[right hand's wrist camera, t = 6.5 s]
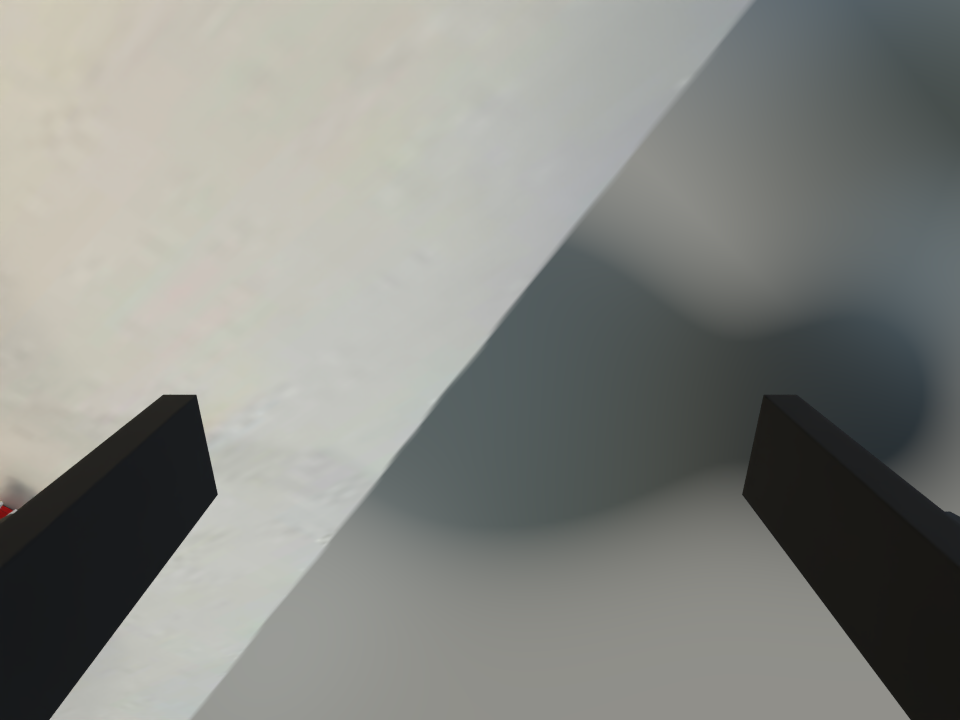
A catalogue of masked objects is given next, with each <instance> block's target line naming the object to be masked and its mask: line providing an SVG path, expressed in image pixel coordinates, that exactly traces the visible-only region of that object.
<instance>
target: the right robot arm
mask: <svg viewBox="0 0 960 720" xmlns="http://www.w3.org/2000/svg"><path fill="white" fill-rule="evenodd" d="M217 495H218V494H217V489H216V484H215V480H214V475H213V470H212V466H211V461H210V456H209V452H208V447H207V442H206V438H205V433H204V428H203V424H202V419H201V414H200V410H199V405H198V400H197V396H196V395H162V396H161V397H160V398H159V399H157V400H156V401H155V402H154V403H152V404H151V405H150V406H148V407H147V408H146V409H145V410H143V411H142V412H141V413H140V414H138V415H137V416H136V417H135V418H133V419H132V420H131V421H130V422H128V423H127V424H126V425H125V426H123V427H122V428H121V429H119V430H118V431H117V432H116V433H114V434H113V435H112V436H111V437H109V438H108V439H107V440H106V441H104V442H103V443H102V444H101V445H99V446H98V447H97V448H95V449H94V450H93V451H92V452H90V453H89V454H88V455H87V456H85V457H84V458H83V459H82V460H80V461H79V462H78V463H77V464H75V465H74V466H73V467H71V468H70V469H69V470H68V471H66V472H65V473H64V474H63V475H61V476H60V477H59V478H58V479H56V480H55V481H54V482H53V483H51V484H50V485H49V486H47V487H46V488H45V489H44V490H42V491H41V492H40V493H39V494H37V495H36V496H35V497H34V498H32V499H31V500H30V501H29V502H27V503H26V504H25V505H24V506H22V507H21V508H20V509H18V510H17V511H16V512H15V513H13V514H9V515H7V516H5V517H3V518H1V519H0V720H49V719H50V718H51V717H52V715H53V714H54V713H55V711H56V710H57V709H58V707H59V706H60V705H61V703H62V702H63V701H64V699H65V698H66V697H67V695H68V694H69V693H70V691H71V690H72V689H73V687H74V686H75V685H76V683H77V682H78V681H79V679H80V678H81V677H82V675H83V674H84V673H85V671H86V670H87V669H88V667H89V666H90V665H91V663H92V662H93V661H94V659H95V658H96V657H97V655H98V654H99V653H100V651H101V650H102V649H103V647H104V646H105V645H106V643H107V642H108V641H109V639H110V638H111V637H112V635H113V634H114V633H115V631H116V630H117V629H118V627H119V626H120V625H121V623H122V622H123V620H124V619H125V618H126V616H127V615H128V614H129V612H130V611H131V610H132V608H133V607H134V606H135V604H136V603H137V602H138V600H139V599H140V598H141V596H142V595H143V594H144V592H145V591H146V590H147V588H148V587H149V586H150V584H151V583H152V582H153V580H154V579H155V578H156V576H157V575H158V574H159V572H160V571H161V570H162V568H163V567H164V566H165V564H166V563H167V562H168V560H169V559H170V558H171V556H172V555H173V554H174V552H175V551H176V550H177V548H178V547H179V546H180V544H181V543H182V542H183V540H184V539H185V538H186V536H187V535H188V534H189V532H190V531H191V530H192V528H193V527H194V526H195V524H196V523H197V522H198V520H199V519H200V518H201V516H202V515H203V514H204V512H205V511H206V510H207V508H208V507H209V506H210V504H211V503H212V502H213V500H214V499H215V498H216V496H217ZM742 495H743V496H744V497H745V499H746V500H747V502H748V503H749V504H750V505H751V507H752V508H753V510H754V511H755V512H756V514H757V515H758V516H759V518H760V519H761V520H762V522H763V523H764V524H765V526H766V527H767V528H768V530H769V531H770V532H771V534H772V535H773V536H774V538H775V539H776V540H777V542H778V543H779V544H780V546H781V547H782V548H783V550H784V551H785V552H786V554H787V555H788V556H789V558H790V559H791V560H792V562H793V563H794V564H795V566H796V567H797V568H798V570H799V571H800V572H801V574H802V575H803V576H804V578H805V579H806V580H807V582H808V583H809V584H810V586H811V587H812V588H813V590H814V591H815V592H816V594H817V595H818V596H819V598H820V599H821V600H822V602H823V603H824V604H825V606H826V607H827V608H828V610H829V611H830V612H831V614H832V615H833V616H834V618H835V619H836V620H837V622H838V623H839V625H840V626H841V627H842V629H843V630H844V631H845V633H846V634H847V635H848V637H849V638H850V639H851V640H852V642H853V643H854V645H855V646H856V647H857V649H858V650H859V651H860V653H861V654H862V655H863V657H864V658H865V659H866V661H867V662H868V663H869V665H870V666H871V667H872V669H873V670H874V671H875V673H876V674H877V675H878V677H879V678H880V679H881V681H882V682H883V683H884V685H885V686H886V687H887V689H888V690H889V691H890V693H891V694H892V695H893V697H894V698H895V699H896V701H897V702H898V703H899V705H900V706H901V707H902V709H903V710H904V711H905V713H906V714H907V715H908V717H909V718H910V719H911V720H960V517H959V516H957V515H955V514H954V513H952V512H944V511H943V510H941V509H940V508H939V507H938V506H936V505H935V504H934V503H933V502H931V501H930V500H929V499H928V498H926V497H925V496H924V495H923V494H921V493H920V492H919V491H917V490H916V489H915V488H914V487H913V486H911V485H910V484H909V483H907V482H906V481H905V480H904V479H902V478H901V477H900V476H899V475H897V474H896V473H895V472H894V471H892V470H891V469H890V468H889V467H887V466H886V465H885V464H883V463H882V462H881V461H880V460H878V459H877V458H876V457H875V456H873V455H872V454H871V453H870V452H868V451H867V450H866V449H865V448H863V447H862V446H861V445H859V444H858V443H857V442H856V441H854V440H853V439H852V438H851V437H849V436H848V435H847V434H846V433H844V432H843V431H842V430H841V429H839V428H838V427H837V426H835V425H834V424H833V423H832V422H830V421H829V420H828V419H827V418H825V417H824V416H823V415H822V414H820V413H819V412H818V411H817V410H815V409H814V408H813V407H812V406H810V405H809V404H808V403H806V402H805V401H804V400H803V399H801V398H800V397H799V396H798V395H764V396H763V400H762V405H761V410H760V414H759V419H758V424H757V428H756V433H755V438H754V442H753V447H752V452H751V456H750V461H749V466H748V470H747V475H746V480H745V484H744V489H743V494H742Z"/></svg>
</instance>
